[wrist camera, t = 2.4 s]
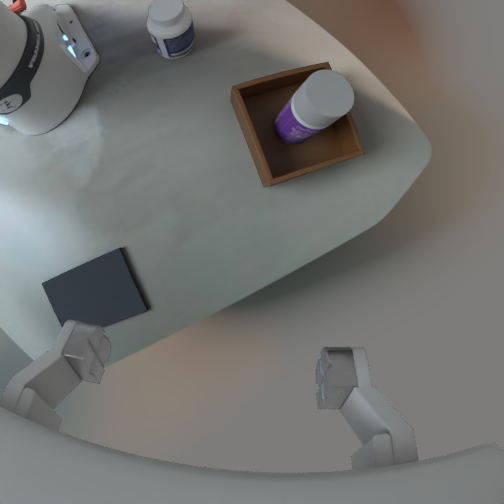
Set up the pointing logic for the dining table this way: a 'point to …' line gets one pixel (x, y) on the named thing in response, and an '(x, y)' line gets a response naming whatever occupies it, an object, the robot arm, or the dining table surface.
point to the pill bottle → (171, 28)
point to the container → (314, 106)
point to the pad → (96, 292)
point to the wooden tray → (266, 141)
